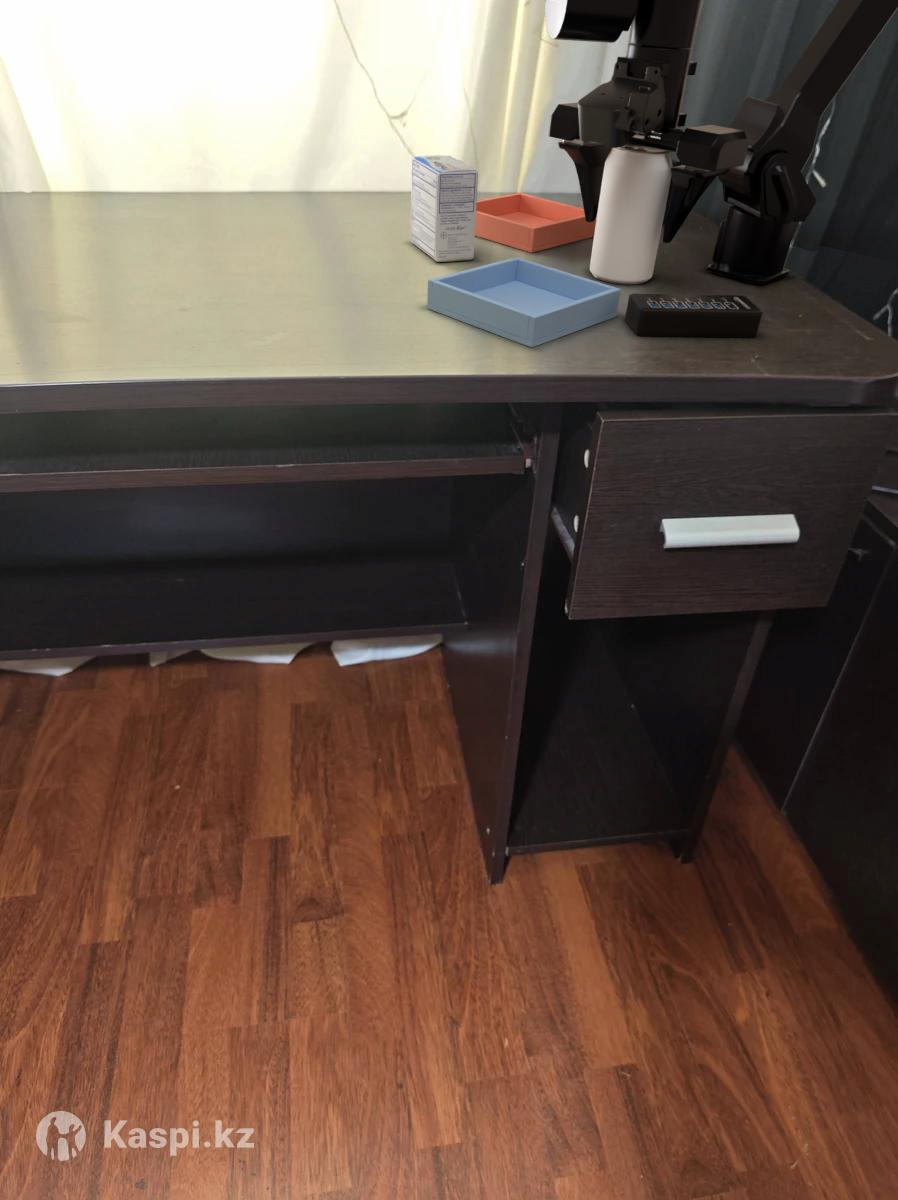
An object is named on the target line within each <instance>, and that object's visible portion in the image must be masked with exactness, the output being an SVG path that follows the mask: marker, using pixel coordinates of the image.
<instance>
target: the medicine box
mask: <svg viewBox="0 0 898 1200" xmlns="http://www.w3.org/2000/svg"><path fill="white" fill-rule="evenodd" d="M410 181H411V182H410V183H411V185H410V186H411V187H410V189H411V191H410V194H411V196H410V242H411V243H412V244H413V245H414V246H416V247H417V248H419V249H420V250H421V251H422V252H424V253H425V254H426V255H427V256H429V257H430V258H432V259H433V260H434V261H436V262H437V263H440V262H441V263H446V262H460V261H472V260H473V259H474V257H475V245H476V244H475V243H476V242H475V241H476V236H475V225H476V205H477V201H478V182H479V171H478V170H477V169H476V168H474V167H473V166H471V165H469V164H467V163H465V162H463V161H462V160H459V159H457V158H455V157H453V156H452V155H445V154H444V155H443V154H441V155H440V154H439V155H438V154H433V155H432V154H431V155H429V154H428V155H419V156H413V157H412V160H411V179H410Z"/></svg>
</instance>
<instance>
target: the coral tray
mask: <svg viewBox="0 0 898 1200" xmlns="http://www.w3.org/2000/svg"><path fill="white" fill-rule="evenodd" d="M596 219H597V215H596V218H595V221H593V222H587V221H586V219H585V213H584V208H583V207H579V206H574V205H570V204H566V203H563V202H559V201H554V200H551V199H548V198H542V197H540V196H536V195H531V194H527V193H523V192H517V193H516V192H515V193H511V194H506V195H505V194H504V195H501V196H496V197H490V198H489V197H488V198H485V199H480V200H477V205H476V225H475V237H478V238H481V239H485V240H488V241H491V242H495V243H498V244H502V245H505V246H508V247H512V248H515V249H518V250H522V251H525V252H527V253H528V252H529V253H531V254H532V253H535V252H540V251H543V250H548V249H551V248H555V247H559V246H563V245H568V244H570V243H575V242H578V241H583V240H586V239H590V238H594V233H595V226H596Z"/></svg>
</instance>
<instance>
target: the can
mask: <svg viewBox="0 0 898 1200" xmlns="http://www.w3.org/2000/svg"><path fill="white" fill-rule="evenodd" d="M671 152H672V151H668V150H663V149H658V148H653V147H649V146H644V145H639V144H634V143H629V142H628V143H627V144H626V145H624V146H622V147H618V148H612V150H611V152H610V154H609V155H608V157H607V159H606V161H605V166H604V172H603V178H602V185H601V192H600V199H599V205H598V212H597V219H596V226H595V233H594V237H593V241H592V248H591V255H590V263H589V271H590V273H591V275H592V277H593V278H595V279H597V280H599V281H602V282H604V283H608V284H613V285H621V286H622V285H623V286H637V285H643V284H645V283H647V282H649V280H651V279H652V278H653V276H654V270H655V265H656V261H657V255H658V250H659V245H660V239H661V235H662V228H663V219H664V213H665V208H666V203H667V197H668V192H669V187H670V181H671V175H672V174H671V167H673V166H672V161H671V159H672V157H671Z"/></svg>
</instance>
